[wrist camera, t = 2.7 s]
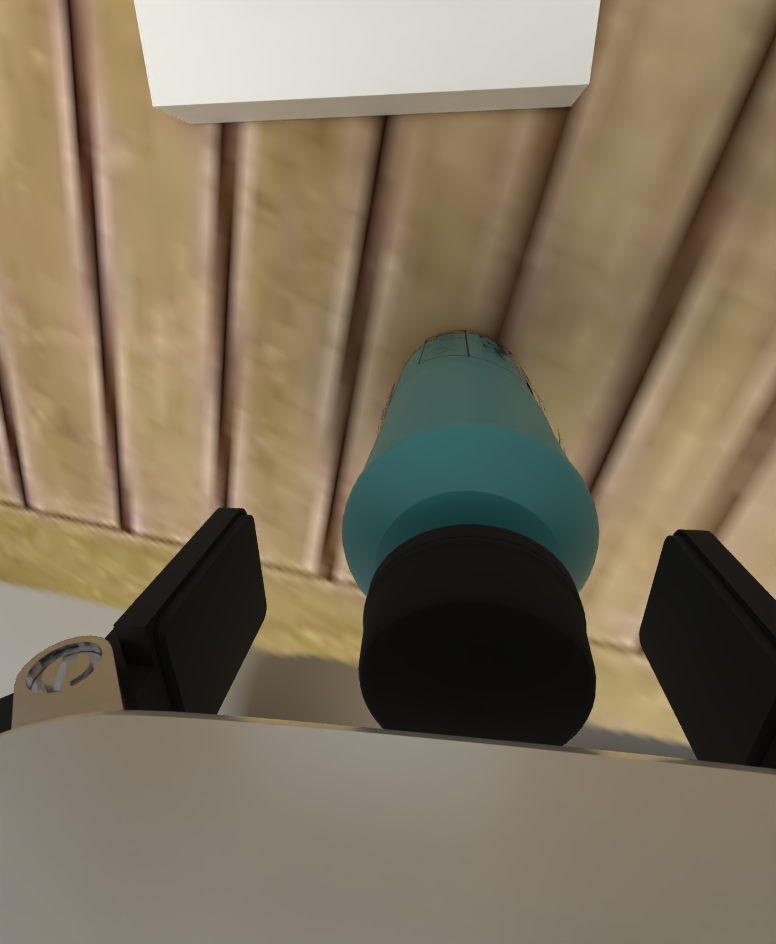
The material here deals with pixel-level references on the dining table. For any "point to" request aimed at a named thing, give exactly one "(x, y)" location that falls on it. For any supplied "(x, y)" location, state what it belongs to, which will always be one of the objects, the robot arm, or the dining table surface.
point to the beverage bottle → (472, 556)
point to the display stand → (363, 56)
